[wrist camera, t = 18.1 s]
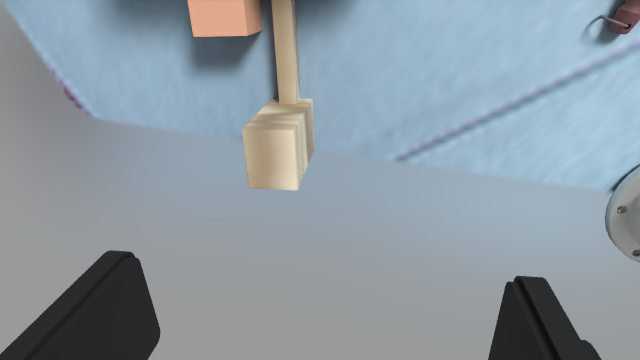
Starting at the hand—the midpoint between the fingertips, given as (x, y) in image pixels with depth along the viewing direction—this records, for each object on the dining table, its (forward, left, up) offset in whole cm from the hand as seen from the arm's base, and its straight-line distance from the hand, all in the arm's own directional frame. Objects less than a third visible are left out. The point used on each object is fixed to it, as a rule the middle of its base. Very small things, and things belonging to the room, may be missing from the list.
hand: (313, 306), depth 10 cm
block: (+11, -6, -28) cm, 31 cm away
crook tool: (+8, -2, -28) cm, 29 cm away
